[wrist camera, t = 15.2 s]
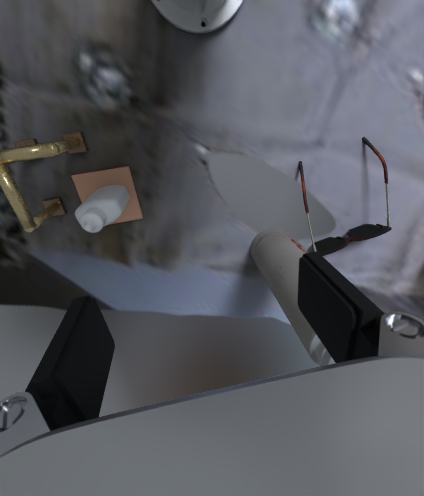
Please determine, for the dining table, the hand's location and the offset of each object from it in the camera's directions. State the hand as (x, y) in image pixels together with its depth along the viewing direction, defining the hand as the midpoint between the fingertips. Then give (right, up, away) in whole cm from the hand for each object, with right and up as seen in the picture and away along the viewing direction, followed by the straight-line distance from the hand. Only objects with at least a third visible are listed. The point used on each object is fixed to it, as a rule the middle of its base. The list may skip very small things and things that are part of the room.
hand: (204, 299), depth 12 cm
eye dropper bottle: (-15, +10, +26) cm, 32 cm away
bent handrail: (-20, +13, +25) cm, 34 cm away
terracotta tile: (-15, +10, +27) cm, 32 cm away
